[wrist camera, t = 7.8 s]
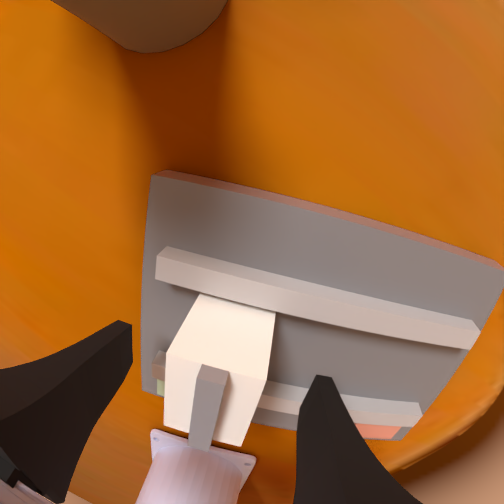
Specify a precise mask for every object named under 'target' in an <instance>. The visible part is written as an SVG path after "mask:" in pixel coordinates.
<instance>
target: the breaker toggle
mask: <svg viewBox="0 0 504 504" xmlns="http://www.w3.org/2000/svg"><path fill="white" fill-rule="evenodd" d="M275 315H276V311H272V310H268V309H264V308H260V307H256V306H252V305H248V304H244V303H240V302H236V301H233V300H229V299H225V298H221V297H217V296H214V295H210V294H206V293H203V292H200V294H199V296H198V298H197V299H196V301H195V303H194V305H193V306H192V308H191V310H190V312H189V313H188V315H187V317H186V319H185V320H184V322H183V324H182V326H181V328H180V329H179V331H178V333H177V335H176V336H175V338H174V340H173V342H172V344H171V345H170V347H169V349H168V351H167V352H166V368H165V394H164V425H165V426H168V427H171V428H174V429H177V430H180V431H184V432H187V433H189V437H188V445H187V446H189V447H193V448H196V449H200V450H203V451H207V452H209V449H210V446H211V442H212V440H215V441H219V442H223V443H227V444H231V445H236V446H240V447H241V445H242V443H243V440H244V438H245V435H246V433H247V430H248V428H249V425H250V422H251V420H252V417H253V415H254V412H255V410H256V407H257V404H258V402H259V399H260V396H261V394H262V391H263V388H264V386H265V383H266V380H267V373H268V366H269V359H270V352H271V345H272V337H273V330H274V322H275Z"/></svg>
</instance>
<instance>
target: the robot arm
mask: <svg viewBox="0 0 504 504" xmlns="http://www.w3.org/2000/svg"><path fill="white" fill-rule="evenodd" d="M132 363H133V353H132V325H131V324H128V323H125V322H123V321H120V320H117V321H116V322H114V323H112V324H110V325H108V326H107V327H105V328H103V329H101V330H99V331H98V332H96V333H94V334H92V335H91V336H89V337H87V338H85V339H83V340H81V341H79V342H78V343H76V344H74V345H71V346H69V347H67V348H65V349H63V350H61V351H59V352H57V353H54V354H52V355H50V356H47V357H44V358H42V359H39V360H36V361H33V362H30V363H26V364H22V365H18V366H15V367H10V368H5V369H0V504H53V503H52V502H54V503H55V504H59V503H63V502H64V501H65V497H66V494H67V491H68V488H69V484H70V481H71V478H72V476H73V473H74V470H75V468H76V465H77V462H78V460H79V458H80V455H81V453H82V451H83V448H84V446H85V444H86V442H87V440H88V438H89V436H90V433H91V431H92V429H93V427H94V426H95V424H96V422H97V421H98V419H99V418H100V416H101V414H102V413H103V411H104V410H105V408H106V407H107V405H108V404H109V402H110V401H111V400H112V398H113V397H114V395H115V394H116V392H117V390H118V389H119V387H120V386H121V384H122V383H123V381H124V379H125V377H126V375H127V373H128V371H129V369H130V367H131V365H132ZM150 436H151V450H152V461H153V463H152V465H151V467H150V470H149V472H148V475H147V477H146V479H145V482H144V484H143V487H142V489H141V491H140V494H139V496H138V499H137V501H136V503H135V504H237V500H238V495H239V492H240V490H241V488H242V487H243V485H244V483H245V481H246V480H247V478H248V476H249V474H250V472H251V471H252V469H253V467H254V465H255V463H256V457H254V456H252V455H248V454H243V453H239V452H234V451H230V450H226V449H222V448H218V447H214V446H210V449H209V452H207V451H203V450H200V449H196V448H193V447H189V446H187V445H188V439H185V438H182V437H179V436H176V435H173V434H170V433H167V432H164V431H161V430H158V429H153V430H152V431H151V433H150ZM36 492H37V493H38V494H37V493H36ZM39 494H40V495H42V496H44V497H45V498H47V499H49V500H51V501H52V502H50V501H48V500H47V499H45V498H44V497H42V496H40V495H39ZM293 504H422V503H421V502H420V501H418V500H417V499H415V498H414V497H413V496H412V495H411V494H410V493H409V492H408V491H406V490H405V489H404V488H403V487H402V486H401V485H400V484H399V483H398V482H397V481H396V480H395V479H394V478H393V477H392V476H391V475H390V473H389V472H388V471H387V470H386V469H385V468H384V467H383V466H382V464H381V463H380V462H379V461H378V459H377V458H376V457H375V455H374V454H373V453H372V451H371V450H370V448H369V447H368V445H367V444H366V442H365V441H364V439H363V437H362V436H361V434H360V432H359V431H358V429H357V427H356V425H355V424H354V422H353V420H352V418H351V416H350V414H349V412H348V410H347V408H346V406H345V404H344V402H343V400H342V398H341V396H340V394H339V392H338V389H337V387H336V385H335V383H334V381H333V379H332V377H328V376H323V375H317V374H316V376H315V378H314V380H313V382H312V384H311V386H310V388H309V390H308V392H307V394H306V396H305V398H304V400H303V402H302V404H301V406H300V408H299V416H298V424H297V464H296V488H295V495H294V502H293Z"/></svg>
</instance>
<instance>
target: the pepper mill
mask: <svg viewBox="0 0 504 504" xmlns="http://www.w3.org/2000/svg"><path fill="white" fill-rule="evenodd" d="M51 1H53V2H54V3H56V4H58V5H59V6H61V7H63V8H64V9H66V10H68V11H69V12H71V13H72V14H74V15H76V16H77V17H79V18H80V19H82V20H84V21H85V22H87V23H88V24H90V25H91V26H93V27H94V28H96V29H97V30H99V31H100V32H102V33H103V34H105V35H106V36H108V37H109V38H111V39H112V40H114V41H115V42H116V43H118V44H119V45H121V46H122V47H124V48H125V49H127V50H131V51H135V52H139V53H154V52H163V51H166V50H169V49H172V48H175V47H178V46H181V45H184V44H185V43H187V42H188V41H190V40H192V39H193V38H195V37H196V36H198V35H200V34H201V33H203V32H204V31H205V30H206V29H207V28H208V27H209V26H210V25H211V24H212V23H213V22H214V21H215V20H216V19H217V18H218V17H219V15H220V13H221V11H222V10H223V8H224V6H225V4H226V3H227V1H228V0H51Z"/></svg>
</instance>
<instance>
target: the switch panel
mask: <svg viewBox="0 0 504 504" xmlns="http://www.w3.org/2000/svg"><path fill="white" fill-rule="evenodd" d="M503 288H504V268H503V267H502V266H501V265H499V264H498V263H497V262H496V261H494V260H492V259H489V258H486V257H484V256H481V255H478V254H476V253H473V252H470V251H467V250H465V249H462V248H459V247H456V246H453V245H450V244H448V243H445V242H442V241H439V240H436V239H433V238H430V237H427V236H424V235H421V234H418V233H415V232H412V231H408V230H405V229H402V228H399V227H396V226H393V225H389V224H386V223H383V222H379V221H376V220H373V219H369V218H366V217H363V216H359V215H356V214H352V213H349V212H345V211H342V210H338V209H334V208H331V207H327V206H324V205H320V204H316V203H312V202H309V201H305V200H301V199H297V198H293V197H289V196H285V195H281V194H277V193H273V192H269V191H265V190H261V189H256V188H252V187H248V186H243V185H239V184H235V183H230V182H226V181H221V180H216V179H212V178H207V177H202V176H197V175H192V174H187V173H182V172H177V171H172V170H164V171H161V172H158V173H155V174H152V175H151V182H150V191H149V199H148V209H147V219H146V230H145V242H144V256H143V273H142V298H141V372H142V390H143V391H146V392H149V393H152V394H154V395H157V396H160V397H163V398H164V394H165V368H166V352H167V351H168V349H169V347H170V345H171V344H172V342H173V340H174V338H175V336H176V335H177V333H178V331H179V329H180V328H181V326H182V324H183V322H184V320H185V319H186V317H187V315H188V313H189V312H190V310H191V308H192V306H193V305H194V303H195V301H196V299H197V298H198V296H199V294H200V292H203V293H206V294H210V295H214V296H217V297H221V298H225V299H229V300H233V301H236V302H240V303H244V304H248V305H252V306H256V307H260V308H264V309H268V310H272V311H276V315H275V322H274V330H273V337H272V345H271V352H270V359H269V366H268V373H267V380H266V383H265V386H264V388H263V391H262V394H261V396H260V399H259V402H258V404H257V407H256V410H255V412H254V415H253V417H252V420H251V422H253V423H257V424H262V425H267V426H272V427H277V428H283V429H289V430H294V431H297V424H298V416H299V408H300V406H301V404H302V402H303V400H304V398H305V396H306V394H307V392H308V390H309V388H310V386H311V384H312V382H313V380H314V378H315V376H316V374H317V375H323V376H328V377H332V379H333V381H334V383H335V385H336V387H337V389H338V392H339V394H340V396H341V398H342V400H343V402H344V404H345V406H346V408H347V410H348V412H349V414H350V416H351V418H352V420H353V422H354V424H355V425H356V427H357V429H358V431H359V432H360V434H361V436H362V437H363V439H375V440H398V441H400V440H401V439H402V438H403V437H404V436H405V435H406V434H407V433H408V432H409V430H410V429H411V428H412V427H413V426H414V425H415V424H416V423H417V422H418V421H419V419H420V418H421V417H422V416H423V414H424V413H425V412H426V410H427V409H428V408H429V407H430V405H431V404H432V403H433V401H434V400H435V399H436V398H437V396H438V395H439V394H440V392H441V391H442V390H443V388H444V387H445V386H446V384H447V383H448V381H449V380H450V379H451V377H452V376H453V374H454V373H455V371H456V370H457V368H458V367H459V365H460V364H461V362H462V361H463V359H464V358H465V356H466V355H467V353H468V352H469V350H470V349H471V348H472V346H473V345H474V343H475V341H476V340H477V338H478V336H479V334H480V333H481V330H482V328H483V326H484V325H485V323H486V321H487V319H488V317H489V316H490V314H491V312H492V310H493V308H494V306H495V304H496V302H497V300H498V298H499V296H500V294H501V292H502V290H503Z"/></svg>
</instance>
